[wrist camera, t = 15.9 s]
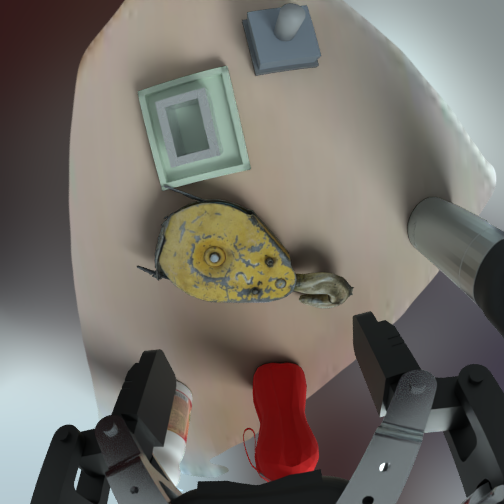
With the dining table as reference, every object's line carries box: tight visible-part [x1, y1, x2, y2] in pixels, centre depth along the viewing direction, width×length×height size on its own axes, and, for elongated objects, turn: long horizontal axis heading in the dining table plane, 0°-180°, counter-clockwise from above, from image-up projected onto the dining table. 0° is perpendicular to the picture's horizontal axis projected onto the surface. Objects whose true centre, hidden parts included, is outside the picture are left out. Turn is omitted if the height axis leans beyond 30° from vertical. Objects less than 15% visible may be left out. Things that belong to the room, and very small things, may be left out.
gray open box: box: [155, 88, 224, 168], centre depth 33 cm, size 6×8×5 cm
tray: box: [138, 66, 251, 191], centre depth 35 cm, size 12×14×2 cm
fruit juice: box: [153, 381, 192, 486], centre depth 42 cm, size 9×9×28 cm
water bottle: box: [243, 363, 319, 482], centre depth 41 cm, size 9×11×25 cm
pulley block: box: [137, 186, 354, 308], centre depth 41 cm, size 14×6×30 cm
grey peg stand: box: [242, 3, 321, 76], centre depth 26 cm, size 8×8×12 cm
